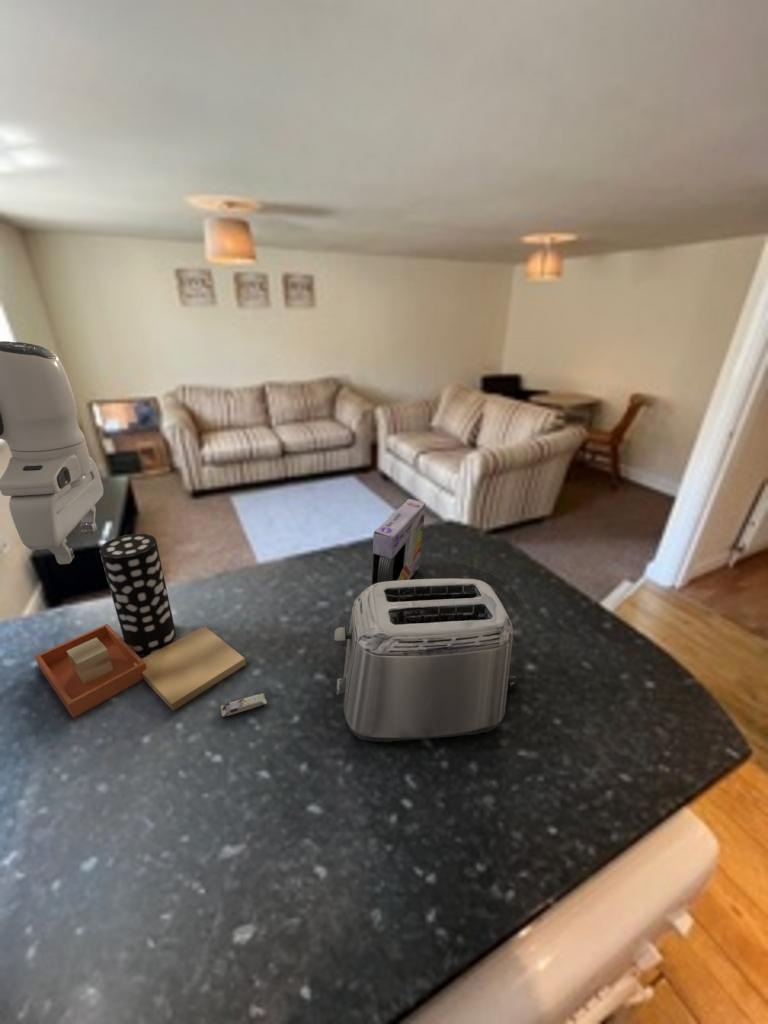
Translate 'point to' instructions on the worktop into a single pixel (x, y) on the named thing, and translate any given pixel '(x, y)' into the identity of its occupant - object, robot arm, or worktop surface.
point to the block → (90, 660)
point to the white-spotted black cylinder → (139, 592)
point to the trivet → (190, 666)
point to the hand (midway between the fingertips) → (79, 546)
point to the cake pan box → (398, 543)
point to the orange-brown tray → (100, 689)
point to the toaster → (425, 660)
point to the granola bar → (243, 704)
